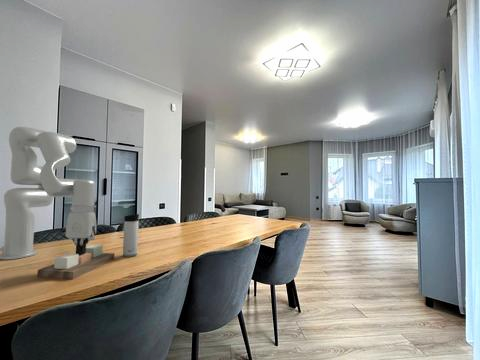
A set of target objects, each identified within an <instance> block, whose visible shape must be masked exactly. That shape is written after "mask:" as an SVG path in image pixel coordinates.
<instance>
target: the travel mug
mask: <svg viewBox="0 0 480 360" xmlns="http://www.w3.org/2000/svg"><path fill="white" fill-rule="evenodd" d="M139 216H140V214H139V213H136V214H127V215H124V223H123V240H122V241H123V243H122V244H123V245H122V249H123V250H122V257H125V258H132V257H136V256H137V255H138V249H139V248H138V246H139V245H138V243H139Z"/></svg>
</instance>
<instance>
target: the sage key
mask: <svg viewBox="0 0 480 360" xmlns="http://www.w3.org/2000/svg"><path fill="white" fill-rule="evenodd" d="M86 253H91V258H95V257H97V256H99V255H102V253H103V244H102V245H101V244H91V245H88V246H87V245H86Z"/></svg>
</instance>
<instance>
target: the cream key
mask: <svg viewBox="0 0 480 360" xmlns="http://www.w3.org/2000/svg"><path fill="white" fill-rule="evenodd" d="M78 257H79V254H76V253H64V254H61V255H58V256H56V257H54V263H53V264H54V269H68V268H71V267H73V266H76V265H78Z"/></svg>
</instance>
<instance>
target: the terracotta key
mask: <svg viewBox="0 0 480 360" xmlns="http://www.w3.org/2000/svg"><path fill="white" fill-rule="evenodd" d="M89 260H91V253H85V254H82V255H79V257H78V263H80V264H82V263H84V262H86V261H89Z"/></svg>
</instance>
